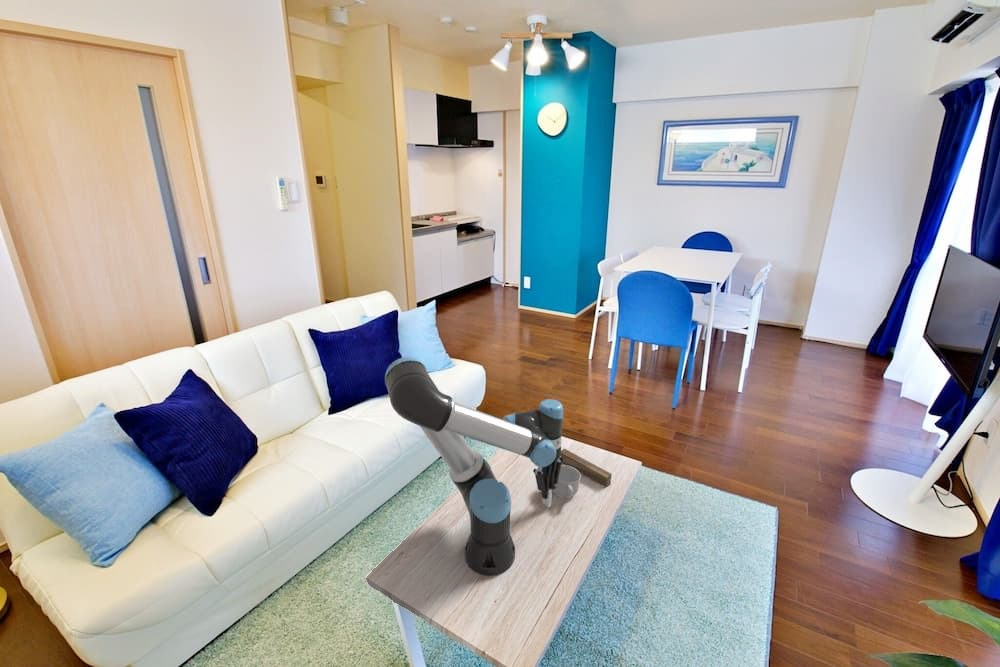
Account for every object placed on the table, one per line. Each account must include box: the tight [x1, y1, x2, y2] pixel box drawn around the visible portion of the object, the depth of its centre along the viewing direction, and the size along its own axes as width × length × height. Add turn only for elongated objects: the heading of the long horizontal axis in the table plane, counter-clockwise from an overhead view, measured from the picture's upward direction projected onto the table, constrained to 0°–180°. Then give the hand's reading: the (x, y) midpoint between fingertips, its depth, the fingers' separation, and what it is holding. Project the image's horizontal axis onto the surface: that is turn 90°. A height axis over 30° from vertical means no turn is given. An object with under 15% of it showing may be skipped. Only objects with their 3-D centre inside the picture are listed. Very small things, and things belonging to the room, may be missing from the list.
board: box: [561, 448, 612, 489], centre depth 178 cm, size 3×22×4 cm, turn 44°
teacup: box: [552, 464, 582, 498], centre depth 166 cm, size 14×11×8 cm
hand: (546, 503), depth 160 cm, fingers closed
